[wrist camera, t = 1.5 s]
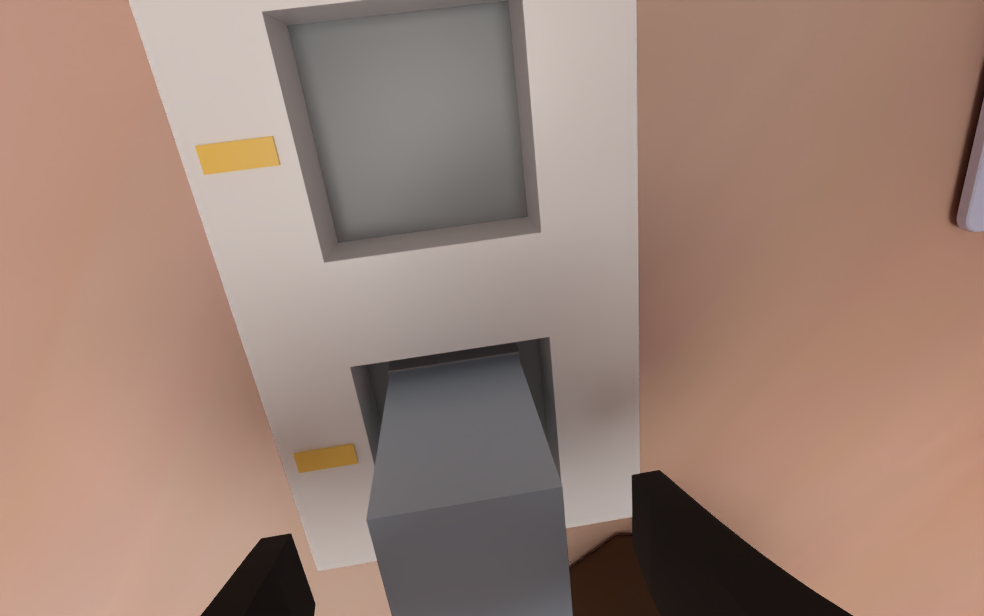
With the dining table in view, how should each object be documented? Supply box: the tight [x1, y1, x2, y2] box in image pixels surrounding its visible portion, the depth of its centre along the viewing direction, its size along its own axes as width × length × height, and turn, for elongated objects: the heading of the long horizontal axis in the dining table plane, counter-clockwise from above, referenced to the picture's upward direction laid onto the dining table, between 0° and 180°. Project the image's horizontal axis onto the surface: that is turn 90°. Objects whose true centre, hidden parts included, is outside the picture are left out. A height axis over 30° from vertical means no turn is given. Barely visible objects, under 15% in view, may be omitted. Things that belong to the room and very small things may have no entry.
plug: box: [366, 342, 573, 616], centre depth 13 cm, size 4×4×6 cm
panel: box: [129, 0, 640, 571], centre depth 14 cm, size 10×16×3 cm, turn 7°
